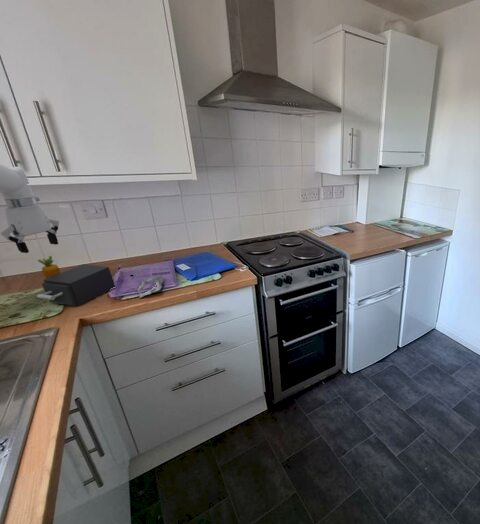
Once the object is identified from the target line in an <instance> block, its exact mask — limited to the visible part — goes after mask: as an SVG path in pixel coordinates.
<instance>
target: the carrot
mask: <svg viewBox="0 0 480 524" xmlns="http://www.w3.org/2000/svg"><path fill="white" fill-rule="evenodd" d="M37 262H39V263H40V264H42V265H43V267H42V268H41V270H42V273H43V275H44V277H45V279H46V278H49V277H51V276H54V275H57V274H59V273H61V270H60V268H59V266H58V265H57V264H54V260H53V256H52V255H49V256H48V258H46V259H45V258H42V259H38V260H37Z"/></svg>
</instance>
